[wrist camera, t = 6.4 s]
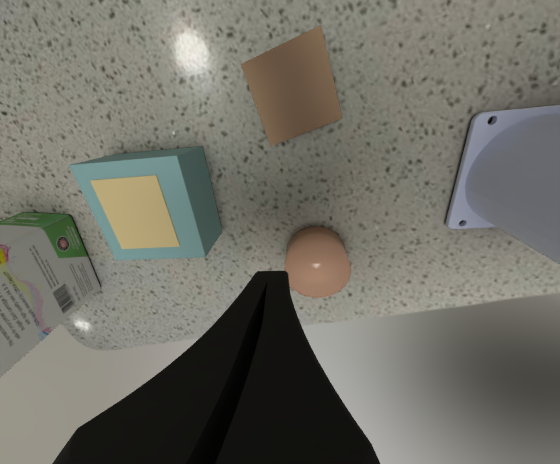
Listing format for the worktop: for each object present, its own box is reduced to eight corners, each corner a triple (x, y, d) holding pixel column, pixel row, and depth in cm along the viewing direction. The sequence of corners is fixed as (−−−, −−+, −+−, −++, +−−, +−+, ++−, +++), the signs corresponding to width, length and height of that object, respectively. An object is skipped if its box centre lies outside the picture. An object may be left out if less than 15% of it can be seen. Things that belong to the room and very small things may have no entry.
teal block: (176, 155, 13) (67, 165, 14) (205, 257, 17) (115, 261, 17) (202, 145, 17) (115, 154, 18) (222, 230, 20) (147, 234, 21)
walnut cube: (315, 46, 14) (320, 25, 10) (333, 116, 16) (342, 118, 12) (255, 75, 15) (240, 64, 11) (277, 138, 17) (270, 146, 13)
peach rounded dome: (343, 223, 19) (350, 241, 17) (344, 272, 21) (351, 295, 19) (282, 229, 20) (280, 247, 17) (290, 276, 22) (289, 299, 19)
